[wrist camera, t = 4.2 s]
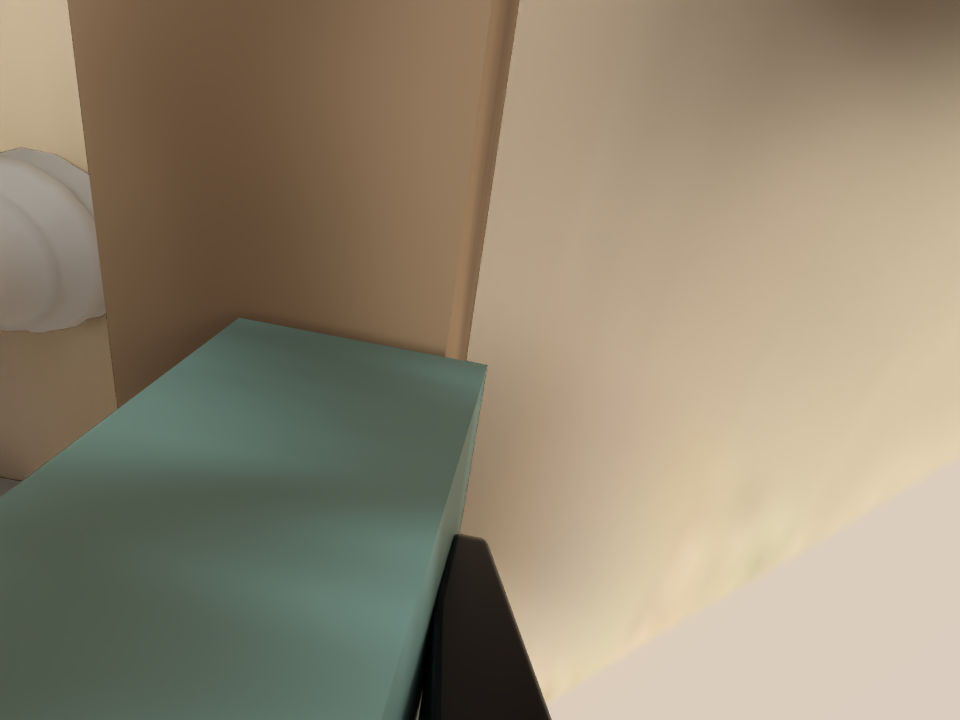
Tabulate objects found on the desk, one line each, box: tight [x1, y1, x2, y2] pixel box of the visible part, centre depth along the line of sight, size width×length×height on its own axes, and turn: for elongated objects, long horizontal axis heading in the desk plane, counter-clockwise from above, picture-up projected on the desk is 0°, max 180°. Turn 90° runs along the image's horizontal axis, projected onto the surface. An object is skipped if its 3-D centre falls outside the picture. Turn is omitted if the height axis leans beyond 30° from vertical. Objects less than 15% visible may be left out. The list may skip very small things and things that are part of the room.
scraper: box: [0, 0, 519, 720], centre depth 8 cm, size 5×14×9 cm, turn 171°
